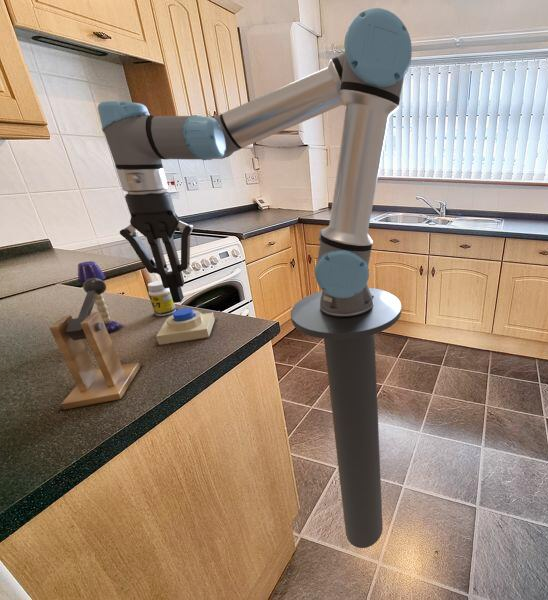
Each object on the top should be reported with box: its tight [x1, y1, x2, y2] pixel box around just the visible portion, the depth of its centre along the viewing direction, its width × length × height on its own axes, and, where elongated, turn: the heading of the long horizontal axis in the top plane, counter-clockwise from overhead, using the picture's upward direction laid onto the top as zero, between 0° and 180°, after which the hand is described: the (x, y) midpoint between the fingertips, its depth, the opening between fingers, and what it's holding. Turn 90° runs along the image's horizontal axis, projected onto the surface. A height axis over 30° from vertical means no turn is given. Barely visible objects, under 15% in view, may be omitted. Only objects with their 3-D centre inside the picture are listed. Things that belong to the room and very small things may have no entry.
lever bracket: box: [48, 311, 141, 410], centre depth 58 cm, size 10×8×14 cm
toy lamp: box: [77, 260, 121, 334], centre depth 78 cm, size 5×5×17 cm
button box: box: [155, 309, 216, 346], centre depth 79 cm, size 10×9×4 cm
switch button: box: [172, 307, 194, 322], centre depth 78 cm, size 4×4×2 cm
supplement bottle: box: [147, 280, 177, 317], centre depth 88 cm, size 5×5×8 cm
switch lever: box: [65, 278, 107, 340], centre depth 59 cm, size 13×3×3 cm, turn 20°
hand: (178, 300), depth 76 cm, fingers closed
